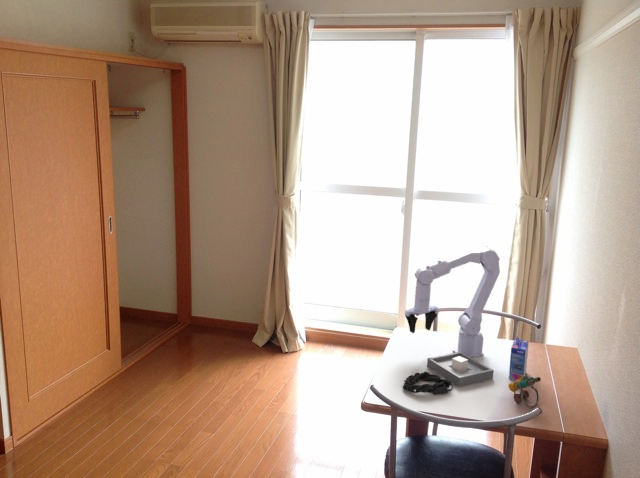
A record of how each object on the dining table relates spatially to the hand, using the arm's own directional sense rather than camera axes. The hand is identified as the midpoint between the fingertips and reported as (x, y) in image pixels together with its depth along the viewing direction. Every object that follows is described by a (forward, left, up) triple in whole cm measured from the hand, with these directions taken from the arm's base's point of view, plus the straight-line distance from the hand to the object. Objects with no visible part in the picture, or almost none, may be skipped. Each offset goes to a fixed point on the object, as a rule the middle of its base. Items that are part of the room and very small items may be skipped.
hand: (419, 330), depth 226 cm
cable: (+16, +25, -10) cm, 31 cm away
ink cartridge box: (-22, +31, -10) cm, 39 cm away
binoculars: (-8, +47, -10) cm, 49 cm away
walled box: (-3, +21, -9) cm, 23 cm away
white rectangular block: (-3, +21, -10) cm, 23 cm away
